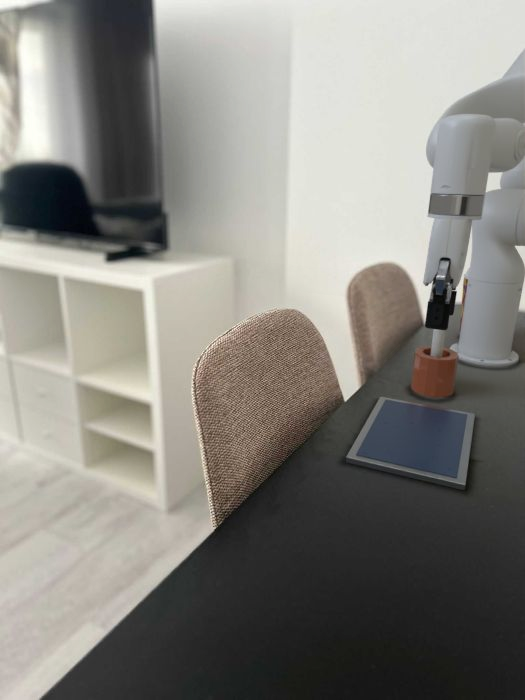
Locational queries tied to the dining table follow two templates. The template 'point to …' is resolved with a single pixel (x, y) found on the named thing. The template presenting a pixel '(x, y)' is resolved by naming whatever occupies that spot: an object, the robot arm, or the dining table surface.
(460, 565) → the dining table surface
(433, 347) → the stylus
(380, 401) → the tablet
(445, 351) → the holder
